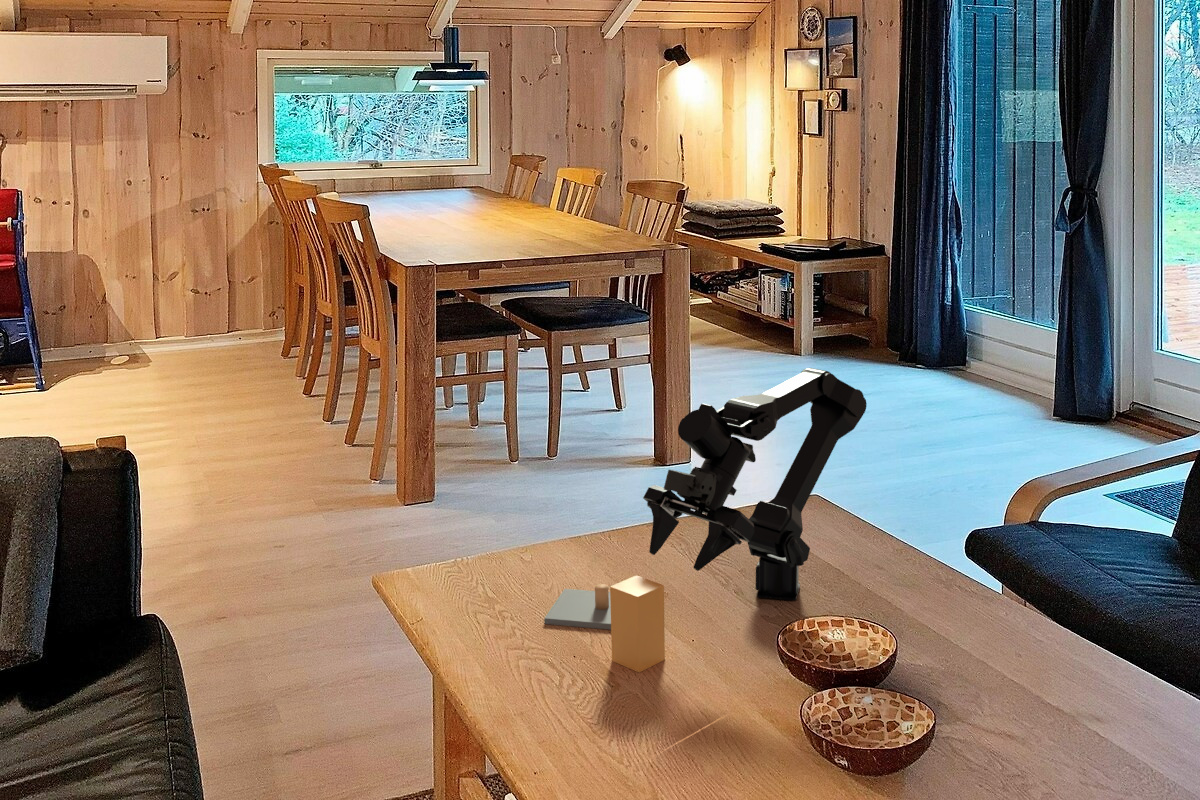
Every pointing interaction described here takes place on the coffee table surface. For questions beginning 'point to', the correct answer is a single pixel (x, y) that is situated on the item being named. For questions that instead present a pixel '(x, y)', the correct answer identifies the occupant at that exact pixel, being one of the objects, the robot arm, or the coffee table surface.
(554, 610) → the post board
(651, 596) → the tall amber pillar
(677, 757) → the coffee table surface
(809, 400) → the robot arm
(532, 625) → the coffee table surface
